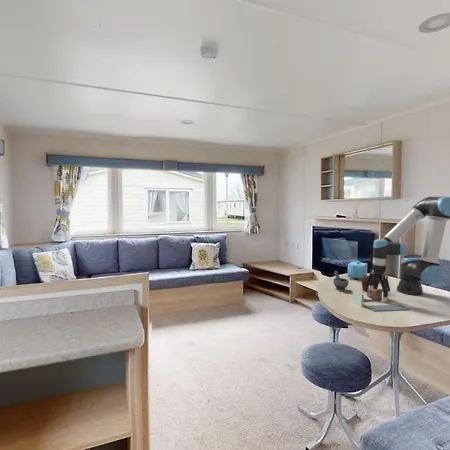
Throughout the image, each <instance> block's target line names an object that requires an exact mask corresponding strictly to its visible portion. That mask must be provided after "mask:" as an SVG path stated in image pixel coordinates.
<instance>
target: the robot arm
mask: <svg viewBox="0 0 450 450" xmlns="http://www.w3.org/2000/svg"><path fill="white" fill-rule="evenodd" d="M426 217H427V218H428V219H429V222H428V226H427V231H426V236H425V241H424V244H423V249H422V253H421V257H419V258H416V257H414V258H413V257H404V258H401V263H400V279H399V281H398V285H397V286H396V291H397V292H398V293H400V294H406V295H409V296H410V295H412V296H423V293H424V290H423V286H422V283H421V281H422V282H423V283H426V284H435V283H437V282H439V281H441V279H442V277H443V270H442V268H441V267H440V266H441V263H440V261H439V255H440V250H441V247H442V243H443V237H444V233H445V229H446V224H447V223H448V221H450V196H443V195H442V196H427V197H425V198H423V199H420V200H419V201H418V202H417V203H416V204H414V205H413V206H412V207H411V208H410V211H409V212H408V213H407V214H406V215H405V216H404V217H403V218H402V219H400V221H399V222H398V223H397V224H396V225H395V226H393V228H391V229H390V231H388V232H387V233H386V234H385V235H384V236H383V237H382V238H379V239H375V240H373V245H372V248H373V251H372V267H371V268H372V269H371V270H370V271H369V275H368V276H369V277H368V280H367V283H368V285H369V289H373V288H374V286H373V284H374V282H375V281H376V279H377V280H379V282H380V283H379V284H380V286H381V289H383V291H382V300H381V303H387V300H388V299H387V292H388V293H390V292H391V287H390V283H389V279H388V278H389V276H388V274H385V272H386V270H387V269H386V268H387V266H386V265H387V256H404V255H406V253H407V249H408V248H407V245H406V244H405V243H402V242H398V241H399V240H400V238H402V237H403V236H404V235H405V234H406V233H407V232H409V230H411V228H413V227H414V226H415V225H416V224H417V223H418V222H419V221H420V220H424V219H425V218H426Z"/></svg>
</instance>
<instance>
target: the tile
mask: <svg viewBox="0 0 450 450" xmlns="http://www.w3.org/2000/svg"><path fill="white" fill-rule="evenodd" d="M364 295H365V294H363V293H361V292H359V291H357V290H352V300H351V301H352V303H354V304H355V305H357V306H358V307H360V308H363V307H364V302H365V300H364Z"/></svg>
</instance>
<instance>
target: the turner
mask: <svg viewBox="0 0 450 450" xmlns="http://www.w3.org/2000/svg"><path fill="white" fill-rule="evenodd" d="M382 291H383V289H382V288H377V289H367V292H366V295H365V294H363V295H364V301H378V300H379V301H380V299H382ZM388 295H389V292H387V300H388V298H389V296H388Z"/></svg>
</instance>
